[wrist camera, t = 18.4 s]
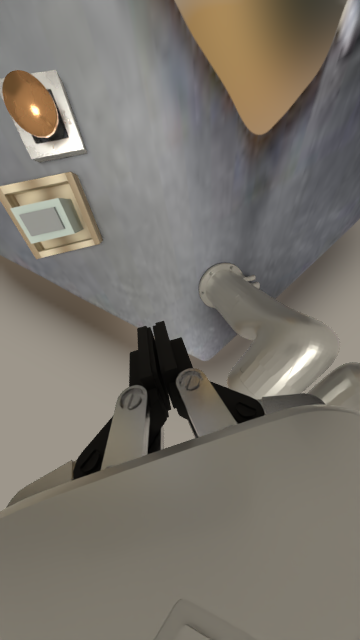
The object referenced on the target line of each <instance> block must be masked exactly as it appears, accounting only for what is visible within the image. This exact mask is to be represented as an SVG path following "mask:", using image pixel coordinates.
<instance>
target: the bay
mask: <svg viewBox="0 0 360 640" xmlns="http://www.w3.org/2000/svg"><path fill="white" fill-rule="evenodd" d="M56 198H64V199H71V200H72V203H73V205H74V207H75V210H76V212H77V214H78V217H79V219H80V221H81V224H82V226H83V228H84V229H83V230H81V231H79V232H77V233H75V234H71V235H67V236H63V237H58V238H54V239H50V240H46V241H41V242H37V243H33V244H31V243H30V241H29V239H28V238H27V236H26V234H25V233H24V231H23V229H22V228H21V226H20V224H19V223H18V221H17V219H16V218H15V216H14V214H13V213H12V211H11V209H10V208H14V207H19V206H23V205H28V204H33V203H37V202H42V201H46V200H51V199H56ZM0 201H1V202H2V204H3V206H4V207H5V209H6V211H7V212H8V214H9V215H10V217H11V219H12V220H13V222H14V224H15V225H16V227H17V228H18V230H19V232H20V233H21V235H22V237H23V238H24V240H25V241H26V243H27V245H28V246H29V248H30V250H31V251H32V253H33V254H34V256H35V258H36V259H39V258H43V257H47V256H51V255H55V254H59V253H64V252H68V251H72V250H76V249H80V248H84V247H88V246H93V245H97V244H100V243H101V242H102V241H103V239H102V237H101V234H100V232H99V229H98V227H97V224H96V222H95V219H94V217H93V214H92V212H91V209H90V206H89V204H88V201H87V199H86V196H85V194H84V191H83V189H82V186H81V184H80V181H79V179H78V176H77V175H76V174H74V173H72V172H67V173H63V174H58V175H53V176H48V177H43V178H39V179H34V180H29V181H24V182H19V183H14V184H10V185H5V186H0Z"/></svg>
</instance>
